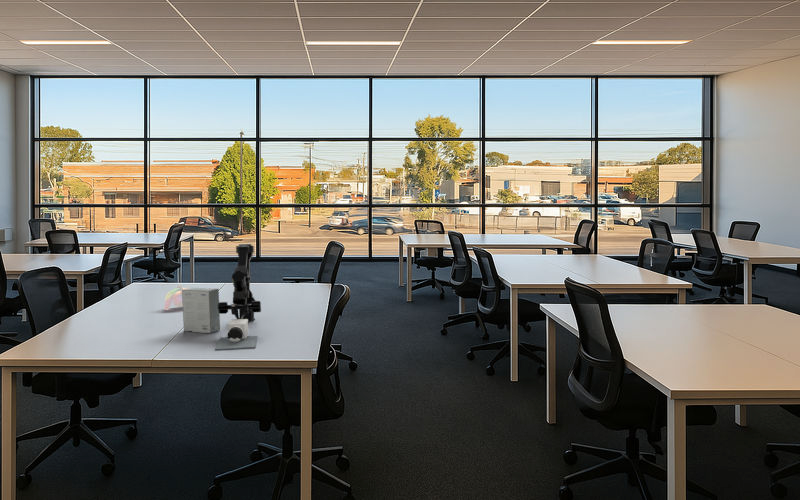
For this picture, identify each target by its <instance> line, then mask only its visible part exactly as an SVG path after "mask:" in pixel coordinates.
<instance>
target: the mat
mask: <svg viewBox="0 0 800 500" xmlns="http://www.w3.org/2000/svg"><path fill="white" fill-rule="evenodd" d="M258 339H259V338H258V335H248V336H247V338H246V339H245V340H240V341H238V342H232V341H230V340H229V339H228V336H222V337H219V340H218V342H217V344H216V347H215V348H214V351H227V350H230V351H231V350H246V349H256V346H257V342H258Z"/></svg>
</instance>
